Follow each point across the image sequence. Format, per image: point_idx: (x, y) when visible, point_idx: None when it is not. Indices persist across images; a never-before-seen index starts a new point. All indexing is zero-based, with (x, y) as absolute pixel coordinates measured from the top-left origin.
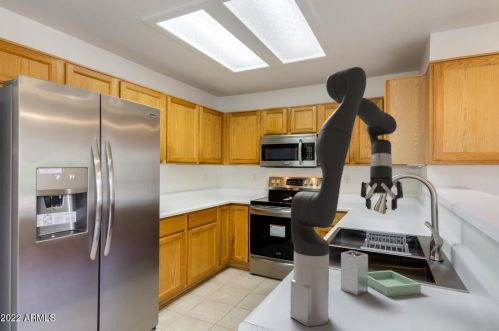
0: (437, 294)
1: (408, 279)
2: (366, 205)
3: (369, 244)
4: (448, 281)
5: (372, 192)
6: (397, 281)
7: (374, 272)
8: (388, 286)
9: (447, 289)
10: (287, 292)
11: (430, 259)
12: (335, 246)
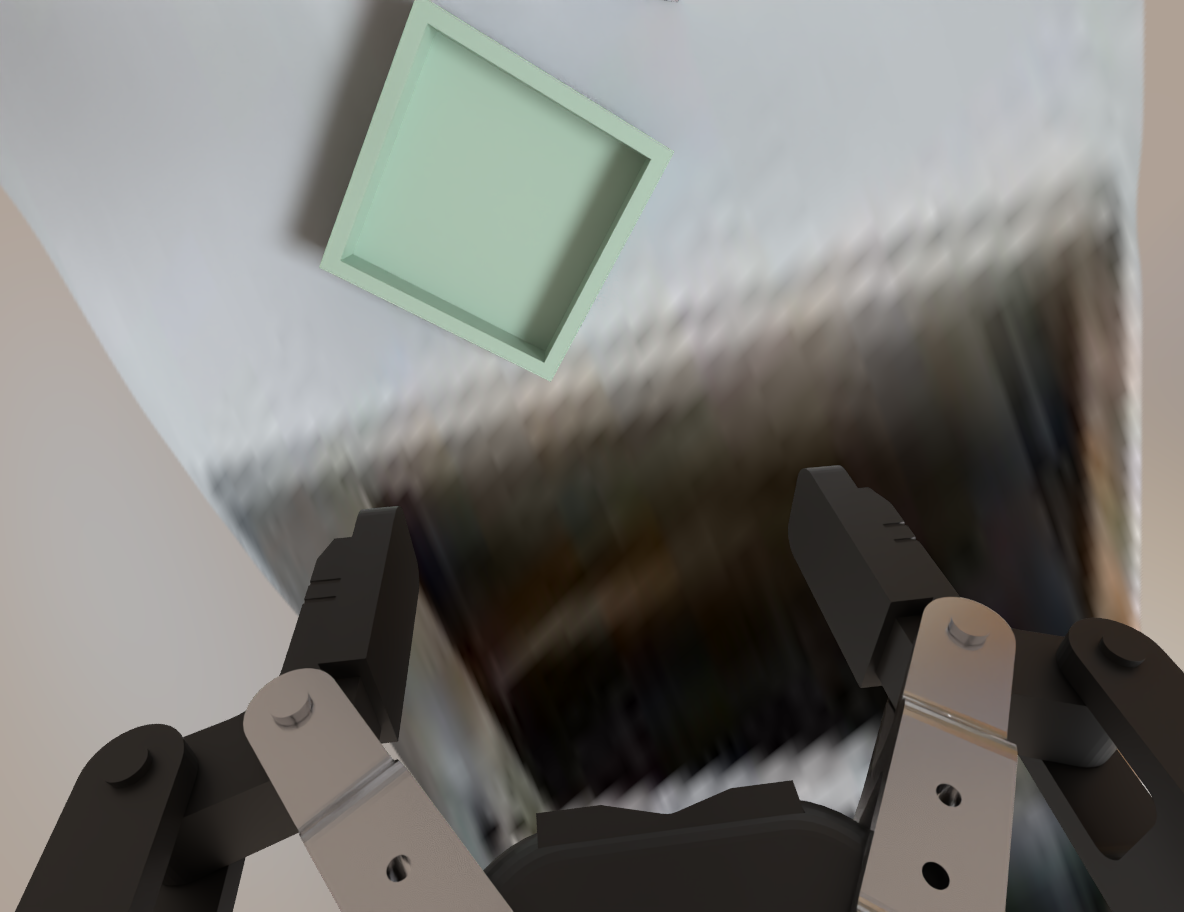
0: (282, 326)
1: (401, 290)
2: (880, 513)
3: None
4: None
5: (887, 762)
6: (485, 308)
7: (606, 244)
8: (416, 13)
9: (288, 447)
10: None
11: (533, 826)
12: None
